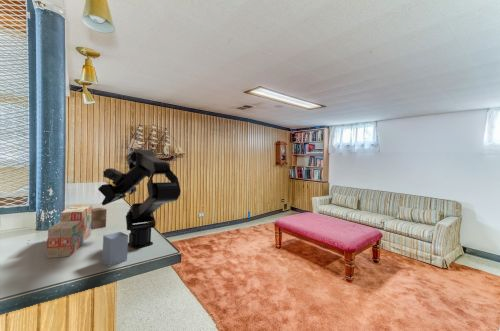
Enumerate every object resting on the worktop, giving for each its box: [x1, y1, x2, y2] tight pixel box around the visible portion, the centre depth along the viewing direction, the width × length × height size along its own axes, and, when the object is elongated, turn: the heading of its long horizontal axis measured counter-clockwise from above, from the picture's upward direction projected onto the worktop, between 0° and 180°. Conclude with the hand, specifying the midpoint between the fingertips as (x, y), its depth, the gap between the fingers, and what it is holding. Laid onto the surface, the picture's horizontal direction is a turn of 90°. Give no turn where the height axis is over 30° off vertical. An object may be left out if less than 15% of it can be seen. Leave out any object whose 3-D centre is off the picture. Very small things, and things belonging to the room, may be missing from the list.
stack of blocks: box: [46, 204, 93, 259], centre depth 80 cm, size 21×6×12 cm, turn 21°
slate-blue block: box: [101, 231, 129, 267], centre depth 70 cm, size 5×5×8 cm
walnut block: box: [91, 207, 107, 230], centre depth 101 cm, size 5×5×8 cm
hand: (102, 204), depth 86 cm, fingers closed
